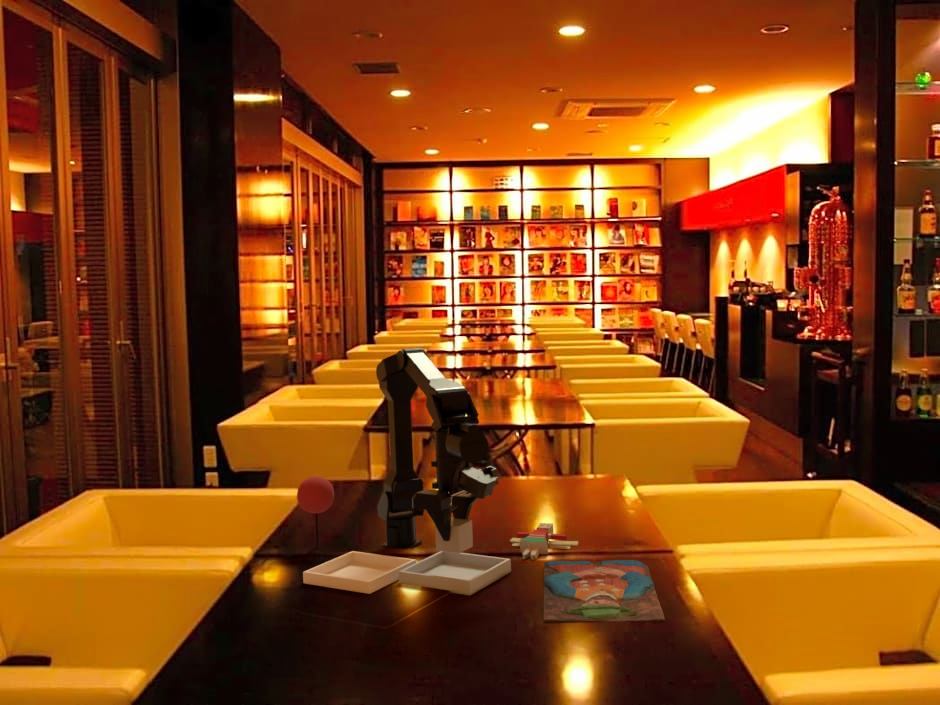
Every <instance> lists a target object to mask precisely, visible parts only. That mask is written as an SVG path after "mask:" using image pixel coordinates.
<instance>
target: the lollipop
mask: <svg viewBox="0 0 940 705" xmlns="http://www.w3.org/2000/svg"><path fill="white" fill-rule="evenodd" d="M296 498H297V503H298V505H299V506H300V508H301V509H302V510H303V511H304V512H307V513H309V514H314V516H315V517H314V518H315V519H314V520H315V537H316V538H315V539H316V540H315V541H316V548H320V540H319V539H320V538H319V517H318V515H319V514H321V513H324V512H326V511H328V510H329V509H330V508H331V506H332V505H333V502H334V499H335V491H334V487H333V484H332V483H331V482H330V481H329V480H328V479H327V478H325V477H321V476H310V477H307V478H306V479H303V481H302V482H300V484H299V486H298V487H297V492H296Z"/></svg>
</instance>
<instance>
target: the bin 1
mask: <svg viewBox="0 0 940 705" xmlns="http://www.w3.org/2000/svg"><path fill="white" fill-rule="evenodd" d="M415 563H417V559H414V558H413V559H412V558H407V557H399V556H392V555H386V554H385V555H384V554H377V553H370V552H362V551H354V550H352V551H349V552H346V553H345V554H342V555H340V556H338V557H335V558H333V559H332V558H331V559H330V560H328V561H325V562H324V563H321V564H319V565H316V566H314V567H311V568H309V569H307V570H304V571H303V572H302V580H303V581H302V582H303V584H306V585H311V586H319V587H325V588H330V589H331V588H332V589H338V590H343V591H344V590H345V591H350V592H355V593H363V594H369V595H371V594H373V593H375V592H377V591H378V590H381V589H382V588H385V587H387V586H389V585H391V584H392V583H395V582H397V581H399V571H401V570H403V569H405V568H407V567H409V566H411V565H413V564H415Z"/></svg>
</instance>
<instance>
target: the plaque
mask: <svg viewBox="0 0 940 705" xmlns="http://www.w3.org/2000/svg"><path fill="white" fill-rule="evenodd" d="M543 567H544V568H543V569H544V570H543V623H618V622H619V623H620V622H622V623H624V622H625V623H628V622H629V623H630V622H633V623H637V622H641V623H642V622H643V623H644V622H646V623H647V622H648V623H649V622H666V619H665V614H664V611H663V608H662V607H661V603H660V601H659V595H658V594H657V591H656V587H655V583H654V581H653V580H654V579H653V578H652V576H651V572H650V569H649V568H650V567H649V566H648V565H647V564H645V563H644V562H642V561H639V560H636V559H626V560H625V559H620V560H619V559H618V560H617V559H615V560H610V559H609V560H602V561H600V562H593V561H592V562H591V561H589V560H549V561H546V562H545V563H544V565H543Z"/></svg>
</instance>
